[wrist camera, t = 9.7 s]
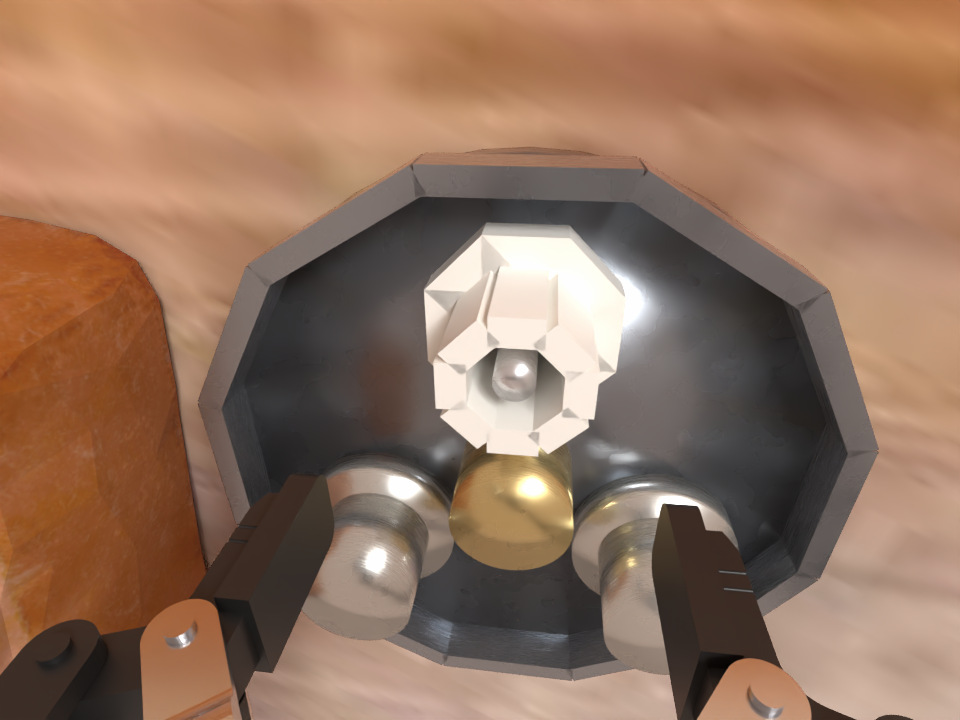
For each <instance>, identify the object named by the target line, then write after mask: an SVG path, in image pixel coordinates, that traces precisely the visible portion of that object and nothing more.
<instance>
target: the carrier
mask: <svg viewBox="0 0 960 720" xmlns="http://www.w3.org/2000/svg"><path fill="white" fill-rule="evenodd" d="M486 222H487V223H517V224H547V225H570V226H571V227H572V228H573V230H574V231H575V232H576V233H577V234H578V235H579V236H580V237H581V238H582V239H583V241H584V242H585V243H586V244H587V245H588V246H589V247H590V248H591V249H592V250H593V251H594V253H595V254H596V255H597V256H598V257H599V258H600V259H601V260H602V261H603V262H604V264H605V265H606V266H607V267H608V268H609V269H610V270H611V271H612V272H613V273H614V275H615V276H616V277H617V278H618V279H619V280H620V281H621V282H622V284H623V287H624V291H625V295H626V299H627V300H626V307H625V314H624V321H623V328H622V335H621V342H620V349H619V355H618V362H617V369H616V373H614V374H613V375H611V376H610V377H609V378H607V379H606V380H604V381H603V382H601V383H600V384H599V386H598V394H597V402H596V409H595V417H594V420H593V419H588V422H589V428H587V429H586V430H584V431H583V432H581V433H580V434H578V435H577V436H575V437H574V438H572V439H571V440H569V441H568V442H566V443H565V444H563V445H561V446H560V447H558V448H557V449H555V450H554V451H552V452H551V453H549V454H547V453H546V452H545V451H544V450H543V449H542V448H541V447H539V451H538V457H536V456H523V455H510V454H497V453H487V442H486V443H485V444H483V445H482V446H481V447H479V448H478V449H477V448H476V447H475V446H473V445H472V444H471V443H470V442H469V441H468V440H466V439H465V438H464V437H463V436H462V435H461V434H459V433H458V432H457V431H456V430H455V429H454V428H452V427H451V426H450V425H449V424H448V423H447V422H445V421H444V420H443V419H442V418H441V417H440V416H441V412H442V409H436V405H435V386H434V367H433V365H432V364H431V363H430V362H429V361H428V352H427V335H426V317H425V300H424V289H425V287H426V285H427V283H428V281H429V279H430V277H431V275H432V274H433V273H434V272H435V271H436V270H437V269H438V268H440V267H441V266H442V265H443V264H444V263H445V262H446V261H447V260H448V259H449V258H450V257H451V256H452V255H453V254H454V253H455V252H456V251H457V250H458V249H459V248H460V247H461V246H462V245H464V244H465V243H466V242H467V241H468V240H469V239H470V238H471V237H472V236H473V235H474V234H475V233H476V232H477V231H478V230H479V229H480V228H481V227H482V226H483V225H484V224H485V223H486ZM537 363H538V350H526V349H508V348H498V351H497V356H496V361H495V367H494V372H493V377H492V387H493V389H494V391H495V393H496V394H497V395H498V396H499V397H501V398H502V399H504V400H507V401H511V402H519V401H523V400H525V399H527V398H529V397H530V396H531V395H532V394H533V393H534V391H535V388H536V379H537ZM198 402H199V403H198V406H199V409H200V412H201V415H202V418H203V421H204V425H205V428H206V431H207V434H208V437H209V440H210V444H211V447H212V450H213V453H214V456H215V459H216V462H217V466H218V469H219V472H220V475H221V478H222V481H223V485H224V488H225V491H226V494H227V497H228V500H229V503H230V507H231V510H232V513H233V516H234V519H235V522H236V523H238V524H237V526H238V527H239V524H240V522H241V521H242V519H243V518H244V516H245V515H246V513H247V512H248V510H249V509H250V507H251V506H253V505H254V504H255V503H256V502H258V501H259V500H260V499H261V498H263V497H264V496H265V495H266V494H268V493H279V492H280V490H281V488H282V487H283V485H284V484H285V482H286V480H287V479H288V477H289V476H290V475H291V474H292V473H303V474H316V475H324V476H325V477H326V480H327V484H328V490H329V495H330V500H331V505H332V510H333V516H334V524H335V525H334V535H333V540H332V543H331V546H330V548H329V550H328V553H327V555H326V557H325V559H324V561H323V564H322V566H321V568H320V570H319V572H318V574H317V577H316V579H315V581H314V583H313V585H312V588H311V590H310V592H309V594H308V596H307V599H306V601H305V603H304V605H303V607H302V609H301V610H302V611H303V612H304V613H305V614H306V616H307V617H308V618H310V619H311V620H312V621H313V622H314V623H316V624H317V625H319V626H320V627H322V628H324V629H326V630H328V631H330V632H332V633H334V634H337V635H340V636H343V637H347V638H351V639H357V640H380V639H385V640H387V641H389V642H391V643H394V644H396V645H398V646H400V647H402V648H405V649H407V650H409V651H411V652H414V653H416V654H418V655H420V656H422V657H425V658H427V659H429V660H431V661H434V662H436V663H438V664H440V665H442V664H443V663H444V666H451V667H459V668H468V669H476V670H484V671H493V672H501V673H510V674H518V675H527V676H535V677H544V678H552V679H560V680H569V681H572V679H573V680H574V681H575V680H580V679H585V678H590V677H595V676H600V675H605V674H611V673H616V672H621V671H626V670H631V669H637V670H640V671H644V672H648V673H653V674H661V675H670V674H669V668H668V662H667V657H666V651H665V645H664V640H663V634H662V628H661V623H660V617H659V611H658V606H657V600H656V595H655V589H654V583H653V577H652V549H653V544H654V539H655V534H656V529H657V524H658V519H659V514H660V510H661V506H662V504H663V503H670V504H683V505H696V506H698V507H699V509H700V512H701V515H702V518H703V522H704V525H705V528H706V530H711V531H723V533H724V534H725V535H726V536H727V537H728V539H729V540H730V541H731V542H732V543H733V544H734V546H735V547H736V548H737V549H738V550H739V553H740V555H741V558H742V561H743V564H744V566H745V569H746V575H747V576H748V578H749V580H750V583H751V586H752V589H753V594H755V597H756V600H757V603H758V606H759V608H760V611H761V614H762V617H763V616H765V615H766V614H768V613H769V612H771V611H772V610H774V609H775V608H777V607H778V606H780V605H781V604H783V603H784V602H786V601H787V600H789V599H790V598H792V597H794V596H795V595H797V594H798V593H800V592H801V591H803V590H804V589H806V588H807V587H809V586H810V585H812V584H813V583H815V582H816V581H818V579H817V578H820V577H821V575H822V573H823V570H824V568H825V566H826V564H827V562H828V560H829V558H830V555H831V553H832V551H833V549H834V547H835V545H836V543H837V540H838V538H839V536H840V534H841V532H842V530H843V527H844V525H845V523H846V521H847V519H848V517H849V515H850V512H851V510H852V508H853V506H854V504H855V502H856V499H857V497H858V495H859V493H860V491H861V489H862V487H863V484H864V482H865V480H866V478H867V476H868V474H869V472H870V469H871V467H872V465H873V463H874V461H875V459H876V456H877V454H878V451H877V450H879V449H878V445H877V442H876V439H875V436H874V432H873V429H872V426H871V423H870V420H869V416H868V413H867V410H866V407H865V403H864V400H863V397H862V394H861V390H860V387H859V384H858V381H857V377H856V374H855V371H854V368H853V365H852V361H851V358H850V355H849V352H848V348H847V345H846V342H845V339H844V335H843V332H842V329H841V326H840V322H839V319H838V316H837V313H836V310H835V306H834V303H833V300H832V297H831V293H830V291H829V290H828V289H827V288H826V287H825V286H824V285H823V284H822V283H821V282H820V281H819V280H818V279H817V278H815V277H814V276H813V275H812V274H811V273H810V272H809V271H808V270H807V269H806V268H805V267H804V266H802V265H801V264H799V263H798V262H796V261H795V260H793V259H792V258H790V257H789V256H787V255H785V254H784V253H782V252H781V251H779V250H778V249H776V248H775V247H773V246H772V245H770V244H769V243H767V242H766V241H764V240H763V239H761V238H760V237H758V236H757V235H755V234H754V233H752V232H751V231H749V230H748V229H747V228H746V227H744V226H743V225H742V224H741V223H739V222H738V221H737V220H735V219H734V218H733V217H732V216H730V215H729V214H728V213H726V212H725V211H724V210H723V209H721V208H720V207H719V206H718V205H716V204H715V203H714V202H712V201H710V200H708V199H707V198H705V197H703V196H701V195H699V194H698V193H696V192H694V191H692V190H691V189H689V188H687V187H685V186H683V185H682V184H680V183H678V182H676V181H675V180H673V179H671V178H670V177H668V176H667V175H665V174H664V173H662V172H661V171H659V170H658V169H656V168H655V167H653V166H652V165H650V164H649V163H647V162H646V161H644V160H643V159H641V158H639V160H638V159H637V157H629V156H598V155H594V154H590V153H585V152H581V151H571V150H560V149H548V148H537V147H520V148H501V149H482V150H477V151H472V152H467V153H425V154H424V155H423V154H421V155H419V156H418V157H416V158H414V159H413V160H411V161H409V162H408V163H406V164H405V165H403V166H401V167H400V168H398V169H397V170H395V171H393V172H392V173H390V174H388V175H387V176H385V177H384V178H382V179H380V180H379V181H377V182H375V183H374V184H372V185H370V186H368V187H366V188H364V189H362V190H360V191H358V192H356V193H355V194H353V195H352V196H351V197H349V198H348V199H347V200H345V201H344V202H342V203H341V204H340V205H338V206H337V207H335V208H334V209H332V210H330V211H329V212H327V213H325V214H324V215H322V216H321V217H319V218H317V219H316V220H314V221H313V222H311V223H309V224H308V225H306V226H304V227H303V228H301V229H300V230H298V231H296V232H295V233H293V234H292V235H290V236H288V237H287V238H285V239H284V240H282V241H280V242H279V243H277V244H275V245H274V246H272V247H271V248H270V249H268V250H267V251H265V252H264V253H263V254H261V255H260V256H259V257H257V258H256V259H255V260H253V261H252V262H251V263H249V264H248V266H246V268H245V271H244V274H243V276H242V279H241V282H240V285H239V288H238V290H237V293H236V296H235V299H234V302H233V304H232V307H231V310H230V313H229V316H228V318H227V321H226V324H225V327H224V330H223V332H222V335H221V338H220V341H219V344H218V346H217V349H216V352H215V355H214V358H213V360H212V363H211V366H210V369H209V372H208V374H207V377H206V380H205V383H204V386H203V388H202V391H201V394H200V397H199V400H198Z"/></svg>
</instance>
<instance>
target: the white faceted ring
mask: <svg viewBox="0 0 960 720" xmlns="http://www.w3.org/2000/svg"><path fill="white" fill-rule="evenodd" d="M424 300H425V317H426V335H427V352H428V361H429V362H430V363H431V364H432V365H433V367H434V386H435V405H436V409H442V412H441V416H440V417H441V418H442V419H443V420H444V421H445V422H447V423H448V424H449V425H450V426H451V427H452V428H454V429H455V430H456V431H457V432H458V433H459V434H461V435H462V436H463V437H464V438H465V439H466V440H468V441H469V442H470V443H471V444H472V445H473V446H475V447H476V448H477V449H478V448H479V447H481V446H482V445H483V444H485V443H486V442H487V453H497V454H510V455H523V456H536V457H538V451H539V447H541V448H542V449H543V450H544V451H545V452H546V453H547V454H549V453H551V452H552V451H554V450H555V449H557V448H558V447H560V446H561V445H563V444H565V443H566V442H568V441H569V440H571V439H572V438H574V437H575V436H577V435H578V434H580V433H581V432H583V431H584V430H586V429H587V428H589V422H588V419H593V420H594V417H595V409H596V402H597V394H598V386H599V384H600V383H601V382H603V381H604V380H606V379H607V378H609V377H610V376H611V375H613V374H614V373H616V369H617V362H618V355H619V349H620V342H621V335H622V328H623V321H624V314H625V307H626V300H627V299H626V295H625V291H624V287H623V284H622V282H621V281H620V280H619V279H618V278H617V277H616V276H615V275H614V273H613V272H612V271H611V270H610V269H609V268H608V267H607V266H606V265H605V264H604V262H603V261H602V260H601V259H600V258H599V257H598V256H597V255H596V254H595V253H594V251H593V250H592V249H591V248H590V247H589V246H588V245H587V244H586V243H585V242H584V241H583V239H582V238H581V237H580V236H579V235H578V234H577V233H576V232H575V231H574V230H573V228H572V227H571V226H570V225H547V224H517V223H487V222H486V223H485V224H484V225H483V226H482V227H481V228H480V229H479V230H478V231H477V232H476V233H475V234H474V235H473V236H472V237H471V238H470V239H469V240H468V241H467V242H466V243H465V244H464V245H462V246H461V247H460V248H459V249H458V250H457V251H456V252H455V253H454V254H453V255H452V256H451V257H450V258H449V259H448V260H447V261H446V262H445V263H444V264H443V265H442V266H441V267H440V268H438V269H437V270H436V271H435V272H434V273H433V274H432V275H431V277H430V279H429V281H428V283H427V285H426V287H425V289H424ZM498 348H508V349H526V350H538V363H537V379H536V388H535V391H534V393H533V394H532V395H531V396H530V397H529V398H527V399H525V400H523V401H519V402H511V401H507V400H504V399H502V398H501V397H499V396H498V395H497V394H496V393H495V391H494V389H493V387H492V377H493V372H494V367H495V361H496V356H497V351H498Z"/></svg>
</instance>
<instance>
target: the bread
mask: <svg viewBox="0 0 960 720" xmlns="http://www.w3.org/2000/svg"><path fill="white" fill-rule="evenodd" d="M206 573H207V572H206V568H205V563H204V559H203V554H202V549H201V544H200V538H199V533H198V527H197V521H196V515H195V510H194V503H193V497H192V491H191V485H190V479H189V472H188V466H187V460H186V454H185V448H184V441H183V435H182V429H181V423H180V416H179V408H178V400H177V392H176V386H175V380H174V375H173V370H172V365H171V359H170V354H169V349H168V344H167V339H166V333H165V328H164V323H163V318H162V313H161V307H160V302H159V299H158V297H157V296H156V294H155V292H154V290H153V289H152V287H151V285H150V283H149V282H148V280H147V278H146V277H145V275H144V273H143V271H142V270H141V268H140V266H139V264H138V263H137V261H136V260H135V259H133V258H132V257H130V256H128V255H127V254H125V253H123V252H122V251H120V250H118V249H117V248H115V247H113V246H112V245H110V244H108V243H107V242H105V241H103V240H102V239H100V238H98V237H97V236H95V235H91V234H87V233H82V232H78V231H74V230H70V229H66V228H62V227H57V226H53V225H49V224H45V223H41V222H36V221H32V220H28V219H21V218H14V217H7V216H0V675H1V674H2V672H3V671H4V670H5V669H6V668H7V666H8V665H9V664H10V663H11V661H12V660H13V659H14V658H15V657H16V655H17V654H18V653H19V652H20V651H21V649H22V648H23V647H24V646H25V645H26V644H27V643H28V642H29V641H31V640H32V639H33V638H34V637H36V636H37V635H38V634H40V633H41V632H43V631H44V630H46V629H48V628H50V627H52V626H54V625H56V624H59V623H61V622H65V621H69V620H75V619H82V620H87V621H90V622H92V623H93V624H94V625H95V626H96V627H97V629H98V631H99V633H100V634H101V635H103V634H109V633H114V632H119V631H124V630H129V629H134V628H140V627H144V626H148V624H149V623H150V622H151V621H152V620H153V619H154V618H155V617H156V616H157V615H158V614H159V613H160V612H162V611H163V610H165V609H166V608H168V607H170V606H171V605H174V604H176V603H178V602H181V601H184V600H188V599H189V598H190V596H191V595H192V594H193V592H194V591H195V589H196V588H197V586H198V585H199V583H200V582H201V580H202V579H203V577H204V576H205V574H206Z"/></svg>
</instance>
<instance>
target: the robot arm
mask: <svg viewBox="0 0 960 720" xmlns="http://www.w3.org/2000/svg"><path fill="white" fill-rule="evenodd" d="M334 525H335V524H334V516H333V510H332V505H331V500H330V495H329V490H328V484H327V480H326V477H325V476H324V475H316V474H303V473H292V474H291V475H290V476H289V477H288V479H287V480H286V482H285V484H284V485H283V487H282V488H281V490H280V492H279V493H268V494H266V495H265V496H264V497H263V498H261V499H260V500H259V501H258V502H256V503H255V504H254V505H253V506H251V507H250V509H249V510H248V512H247V513H246V515H245V516H244V518H243V519H242V521H241V522H240V524H239V527H238V528H236V529H235V531H234V532H233V534H232V535H231V537H230V538H229V542H228V543H226V544H225V546H224V547H223V549H222V550H221V552H220V553H219V555H218V556H217V558H216V559H215V561H214V562H213V564H212V565H211V567H210V568H209V570H208V571H207V573H206V574H205V576H204V577H203V579H202V580H201V582H200V583H199V585H198V586H197V588H196V589H195V591H194V592H193V594H192V595H191V596H190V598H189V599H188V600H184V601H181V602H178V603H176V604H174V605H171V606H170V607H168V608H166V609H165V610H163V611H162V612H160V613H159V614H158V615H157V616H156V617H155V618H154V619H153V620H152V621H151V622H150V623H149V624H148V626H144V627H140V628H134V629H129V630H124V631H119V632H114V633H109V634H103V635H101V634H100V633H99V631H98V629H97V627H96V626H95V625H94V624H93V623H92V622H90V621H87V620H82V619H75V620H69V621H65V622H61V623H59V624H56V625H54V626H52V627H50V628H48V629H46V630H44V631H43V632H41V633H40V634H38V635H37V636H36V637H34V638H33V639H32V640H31V641H29V642H28V643H27V644H26V645H25V646H24V647H23V648H22V649H21V651H20V652H19V653H18V654H17V655H16V657H15V658H14V659H13V660H12V661H11V663H10V664H9V665H8V666H7V668H6V669H5V670H4V671H3V672H2V674H1V675H0V720H254V719H253V715H252V710H251V705H250V700H249V696H248V692H247V689H246V687H247V685H248V683H249V681H250V679H251V677H252V675H253V673H254V671H260V672H268V673H273V671H274V668H275V666H276V664H277V662H278V660H279V658H280V655H281V653H282V651H283V649H284V647H285V644H286V642H287V640H288V638H289V636H290V634H291V631H292V629H293V627H294V625H295V623H296V620H297V618H298V616H299V614H300V612H301V609H302V607H303V605H304V603H305V601H306V599H307V596H308V594H309V592H310V590H311V588H312V585H313V583H314V581H315V579H316V577H317V574H318V572H319V570H320V568H321V566H322V564H323V561H324V559H325V557H326V555H327V553H328V550H329V548H330V546H331V543H332V540H333V535H334ZM652 577H653V583H654V589H655V595H656V600H657V606H658V611H659V617H660V623H661V628H662V634H663V640H664V645H665V651H666V657H667V662H668V668H669V674H670V679H671V685H672V691H673V696H674V702H675V708H676V713H677V719H678V720H856V719H853V718H851V717H848V716H846V715H843V714H841V713H839V712H836V711H834V710H831V709H829V708H827V707H825V706H823V705H820V704H819V703H817V702H815V701H814V700H812V699H811V698H809V697H808V696H807V695H805V693H804V691H803V690H802V689H801V687H800V686H799V685H798V683H797V682H796V681H795V680H794V679H793V678H792V677H791V676H790V675H789V674H788V673H786V672H785V671H783V669H782V667H781V666H780V663H779V661H778V659H777V656H776V653H775V650H774V648H773V645H772V642H771V639H770V636H769V634H768V631H767V628H766V625H765V622H764V620H763V617H762V614H761V611H760V608H759V606H758V603H757V600H756V597H755V594H753V589H752V586H751V583H750V580H749V578H748V576H747V575H746V569H745V566H744V564H743V561H742V558H741V555H740V553H739V550H738V549H737V548H736V547H735V546H734V544H733V543H732V542H731V541H730V540H729V539H728V537H727V536H726V535H725V534H724V533H723V531H711V530H706V528H705V525H704V522H703V518H702V515H701V512H700V509H699V507H698V506H696V505H683V504H670V503H663V504H662V506H661V510H660V514H659V519H658V524H657V529H656V534H655V539H654V544H653V549H652ZM876 720H913V719H910V718H908V717H903V716H899V715H884V716H881V717H879V718H877V719H876Z"/></svg>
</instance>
